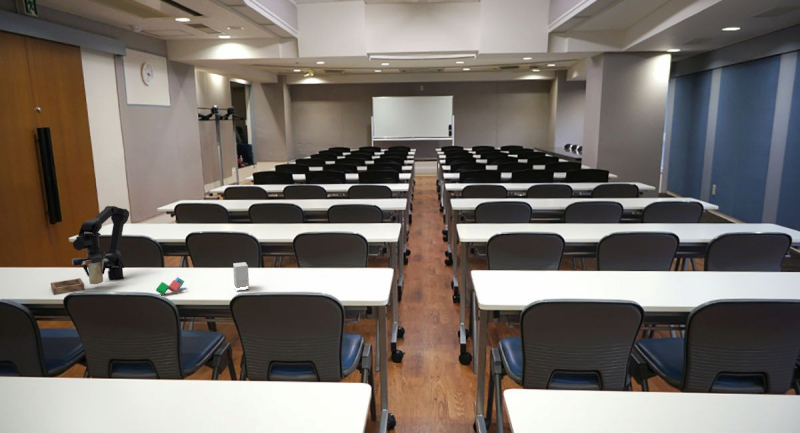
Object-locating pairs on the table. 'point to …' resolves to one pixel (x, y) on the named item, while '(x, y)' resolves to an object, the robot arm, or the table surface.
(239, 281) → the small box
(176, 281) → the building blocks
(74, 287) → the brown square frame
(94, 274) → the box
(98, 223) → the robot arm
